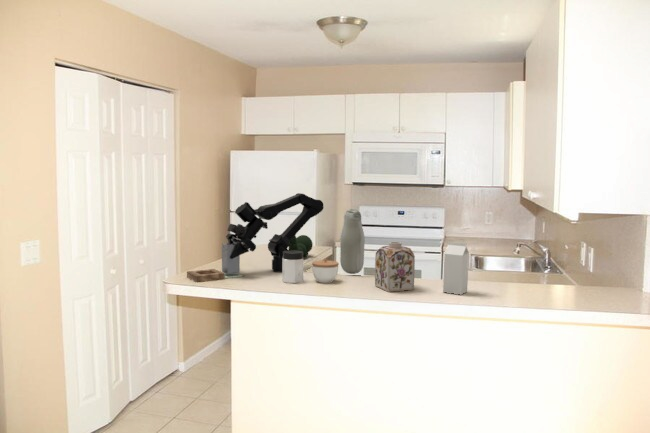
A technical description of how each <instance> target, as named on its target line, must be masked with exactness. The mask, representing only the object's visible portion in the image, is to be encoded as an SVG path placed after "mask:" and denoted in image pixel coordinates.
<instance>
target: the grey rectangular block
mask: <svg viewBox="0 0 650 433" xmlns="http://www.w3.org/2000/svg"><path fill="white" fill-rule="evenodd" d="M236 247H237V244H236V243H229V242H228V243H221V272H223V273H226V274H234V273H238V274H240V270H241V268H240V267H241V266H240V262H241V261H240V259H241V258H240V256H241V255H239V256H237V257H235V258H233V259H231V258H230V256H231V254H232V253H233V251H234V250H235V249H236Z"/></svg>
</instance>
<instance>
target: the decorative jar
mask: <svg viewBox="0 0 650 433" xmlns="http://www.w3.org/2000/svg"><path fill="white" fill-rule="evenodd" d="M415 257H416V256H415V253H414V251H413V250H412V248H411V247H408V246H403V245H402V242H400V241H389V244H388V245H384V246H381V247H379V248H378V249H377V251H375V259H374V261H375V262H374V286H375V287H377V288H379V289H381V290H382V291H383V290H384V291H385V292H387V293H393V292H394V291H395V292H405V291H404V290H409V291H414V289H415V273H416V272H415V270H416V269H415V262H416V261H415V259H416V258H415Z"/></svg>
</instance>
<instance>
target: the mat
mask: <svg viewBox="0 0 650 433" xmlns="http://www.w3.org/2000/svg"><path fill="white" fill-rule="evenodd" d="M232 277H233V278H241V277H244V275H243V274H240V273H234V274H226V273H225V279H231V278H232ZM233 278H232V279H233Z"/></svg>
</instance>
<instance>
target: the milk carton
mask: <svg viewBox="0 0 650 433" xmlns="http://www.w3.org/2000/svg"><path fill="white" fill-rule="evenodd" d="M443 254H444V257H443V258H444V261H443V280H442V283H443V284H442V293H444V292H447V293H446V294H451V293H454V294H453V295H458V294H460V295H461V296H462V295H463V293H464V294H465V293H467V292H468V284H469V283H468V282H469V263H470V262H469V261H470V260H469V259H470V258H469V257H470V252H469V249H468V247H467V243H466V242H465V243H463V242H453V241H447V246H446V248H445V251H444V253H443Z"/></svg>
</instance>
